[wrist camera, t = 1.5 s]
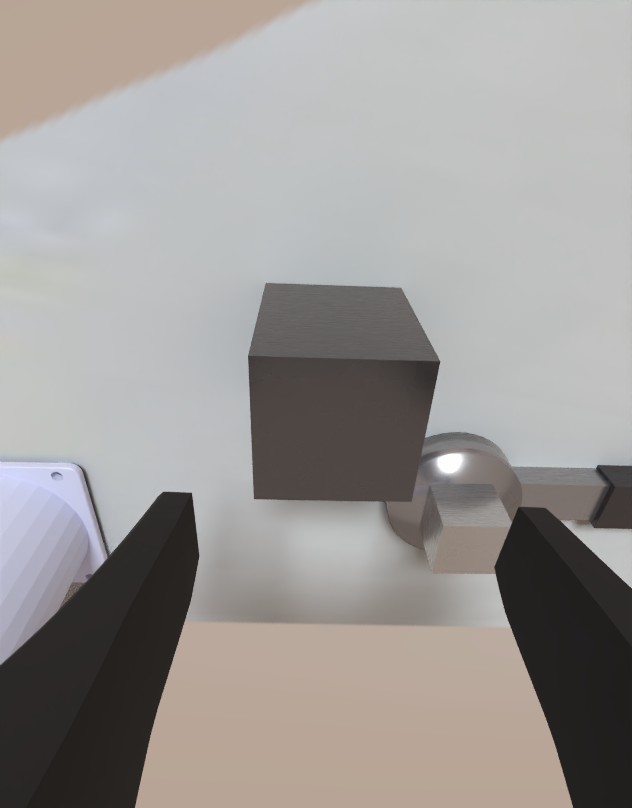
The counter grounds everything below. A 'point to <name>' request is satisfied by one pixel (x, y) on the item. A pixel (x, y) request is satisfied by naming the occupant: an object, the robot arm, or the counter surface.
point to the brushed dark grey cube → (338, 393)
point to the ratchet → (496, 500)
